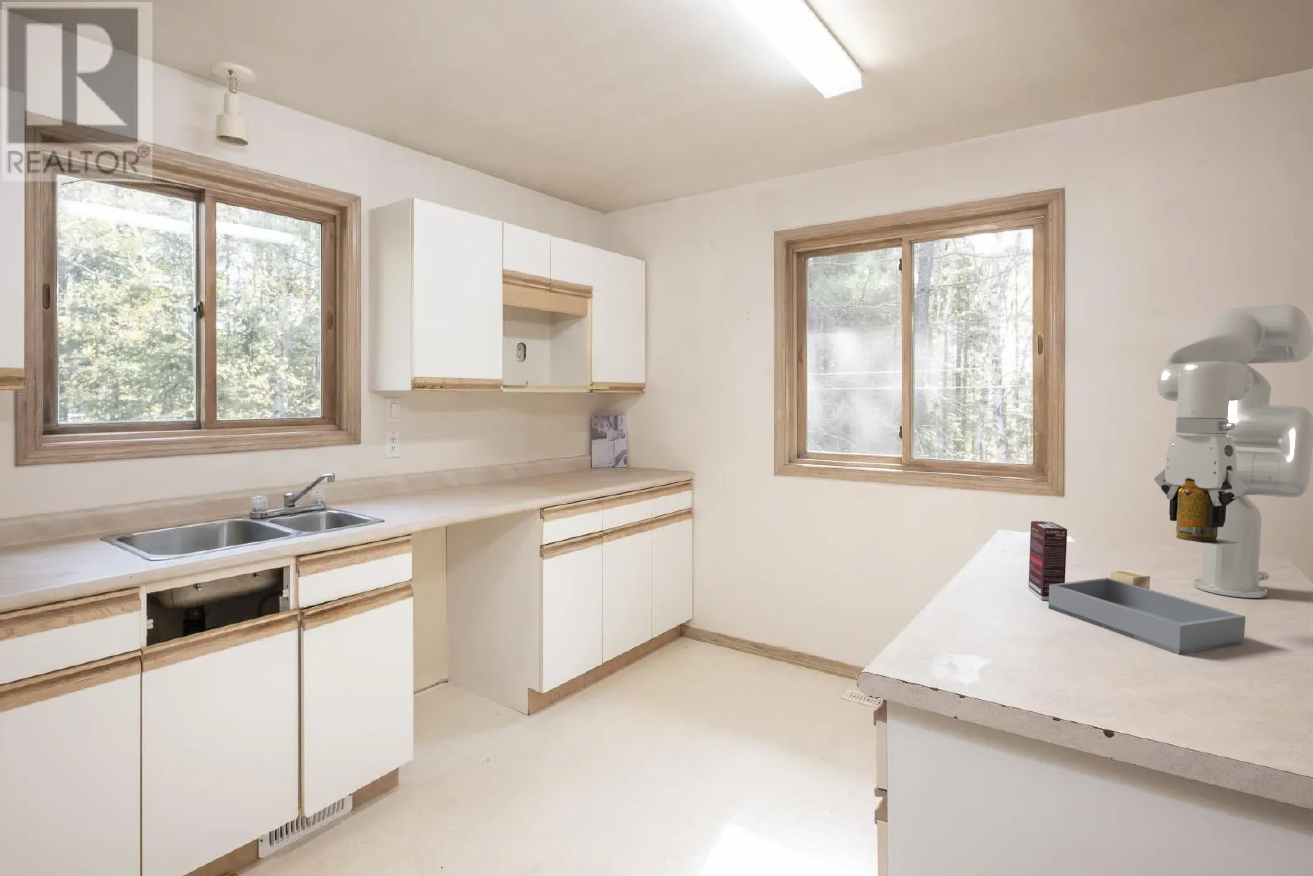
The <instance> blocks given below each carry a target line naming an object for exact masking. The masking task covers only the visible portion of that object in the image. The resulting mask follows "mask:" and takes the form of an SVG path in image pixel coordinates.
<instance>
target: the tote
mask: <svg viewBox="0 0 1313 876" xmlns="http://www.w3.org/2000/svg"><path fill="white" fill-rule="evenodd" d="M1048 609H1050V610H1052V611H1055V612H1058V613H1061V614H1064V615H1067V616H1070V617H1073V618H1075V619H1077V618H1078V620H1081V621H1082V622H1083V621H1084V622H1086V623H1089V624H1091V625H1094V626H1097V627H1100V628H1103V627H1104V628H1103V629H1106V628H1107V629H1106V630H1108V629H1109V631H1111V632H1114V633H1117V632H1118V633H1117V634H1120V635H1123V636H1125V637H1128V636H1129V638H1131V639H1134V640H1137V641H1140V642H1142V641H1143V643H1145V644H1147V645H1151V646H1152V647H1153V646H1154V647H1156V646H1157V647H1156V648H1159V649H1162V650H1165V651H1167V650H1169V651H1168V652H1170V653H1173V654H1176V655H1179V656H1180V655H1184V654H1185V655H1186V654H1191V653H1190V652H1192V653H1196V652H1195V651H1198V652H1202V651H1201V650H1204V651H1209V650H1215V649H1221V648H1227V646H1228V647H1233V646H1239V645H1244V644H1245V628H1246V627H1245V626H1246V616H1245V615H1242V614H1238V613H1234V612H1231V611H1228V610H1225V609H1224V610H1223V609H1220V608H1216V607H1214V606H1210V605H1206V604H1203V603H1199V602H1196V601H1192V600H1188V599H1184V598H1181V597H1178V596H1174V595H1170V594H1167V593H1163V592H1160V591H1156V590H1153V589H1150V590H1149V589H1146V588H1142V587H1138V586H1135V585H1131V584H1128V583H1124V582H1120V581H1117V580H1113V579H1111V577H1110V578H1109V577H1104V578H1103V577H1101V578H1095V579H1094V578H1093V579H1086V580H1076V581H1068V582H1065V583H1059V584H1050V585H1049V601H1048Z"/></svg>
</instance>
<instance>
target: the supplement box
mask: <svg viewBox="0 0 1313 876" xmlns="http://www.w3.org/2000/svg"><path fill="white" fill-rule="evenodd" d="M1029 535H1030V536H1029V537H1030V539H1029V540H1030V542H1029V563H1028V564H1029V566H1028V567H1029V568H1028V590H1029V591H1030V592H1031V593H1032V594H1034V595H1035V596H1036V597H1037V598H1039V599H1040V600H1042V601H1048V602H1049V585H1050V584H1059V583H1066V568H1067V567H1066V566H1067V544H1068V543H1067V542H1068V529H1067V528H1066V527H1064V526H1061V525H1059V524H1058V523H1055V522H1053V521H1043V520H1042V521H1041V520H1040V521H1038V520H1033V521H1032V520H1031V521H1030V534H1029Z"/></svg>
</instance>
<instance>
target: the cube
mask: <svg viewBox="0 0 1313 876" xmlns="http://www.w3.org/2000/svg"><path fill="white" fill-rule="evenodd" d="M1110 579H1113V580H1117V581H1120V582H1124V583H1128V584H1131V585H1135V586H1138V587H1142V588H1146V589H1149V590H1151V589H1150V588H1151V587H1150V585H1151V576H1150V575H1147V574H1145V573H1141V572H1136V571H1131V570H1128V569H1126V570H1119V571H1117V570H1116V571H1111V572H1110Z"/></svg>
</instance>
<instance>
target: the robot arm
mask: <svg viewBox="0 0 1313 876" xmlns="http://www.w3.org/2000/svg"><path fill="white" fill-rule="evenodd" d="M1312 352H1313V331H1312V327H1311V326H1310V323H1309V319H1308V317H1307V316H1306V314H1305V312H1304V311H1303V310H1302V309H1301V308H1300V307H1299V306H1296V305H1293V304H1274V305H1260V306H1259V305H1258V306H1247V307H1239V308H1238V307H1237V308H1233V309H1229V310H1227V311H1224V312H1222V313H1221V314H1220V315H1219V316H1218V317H1217V318H1216V320H1215V321H1214V323H1213V325H1212V327H1211V329H1210V331H1209V333H1208V335H1207V337H1206V338H1202V339H1199V340H1197V341H1195V342H1192V343H1190V344H1186V345H1184V346H1182V347H1180V348H1177V349H1176V350H1174V351H1173V352H1171V353H1170V354H1169V356H1168V357H1167V358H1166V360H1165V361H1164V363H1163V364H1162V367H1161V368H1160V370H1159V372H1158V373H1159V374H1158V376H1157V381H1156V385H1157V386H1156V388H1157V390H1158V393H1159V395H1160V396H1161V397H1162V399H1165V400H1167V401H1171V402H1177V403H1176V418H1175V434H1172V436H1171V438H1170V441H1169V445H1168V449H1167V454H1166V460H1165V468H1164V469H1163V470H1161V472H1159V474H1157V475H1156V476H1155V477H1154V478H1153V480H1154V482H1155V483H1156V484H1157V485H1158V487H1160V489H1161V491H1162V492H1163V493H1164V495H1166V499H1167V500H1168V501H1169V508H1168V509H1169V510H1168V511H1169V513H1168V514H1169V520H1170V522H1177V507H1178V491H1179V490H1180V489H1181V488H1182V486H1183V484H1184V483H1185V479H1188V478H1190V479H1194V480H1195V484H1196V485H1197V486H1198V487H1199V488H1201V489H1204V490H1208V492H1209V495H1210V497H1211V500H1212V503H1213V505H1210V506H1209V516H1208V526H1209V527H1213V528H1215V527H1218V530H1217V531H1218V533H1217V535H1218V536H1217V538H1216V539H1222V540H1228V541H1234V542H1239V543H1235V544H1230V545H1229V544H1226V545H1214V544H1210V543H1203V560H1202V561H1203V562H1202V577H1198V578H1197V577H1196V578H1195V579H1193V586H1194V587H1195V588H1197V589H1199V590H1201V591H1205V592H1207V593H1208V592H1209V593H1212V594H1217V595H1222V596H1228V597H1233V598H1244V599H1245V598H1246V599H1261V598H1264V597H1266V596H1267V595H1268V590H1267V589H1266V588H1265V587H1263V586H1261V585H1260V583H1259V582H1260V581H1261V582H1262V581H1267V580H1268V579H1269V577H1270V575H1269V573H1268V572H1267V571H1264V570H1263V571H1260V569H1259V568H1260V556H1261V555H1260V554H1261V552H1260V551H1261V535H1262V514H1261V511H1260V509H1259V508H1258V506H1256V504H1254V502H1253V501H1251V499H1250V498H1249V497H1248V496H1264V497H1276V498H1277V497H1278V498H1291V499H1292V498H1298V497H1301V496H1303V495H1305V493H1306V492H1307V490H1308V488H1309V485H1310V481H1311V469H1312V468H1311V467H1312V460H1313V459H1312V458H1313V414H1312V413H1311V412H1310V410H1309V409H1307V408H1305V407H1303V406H1301V405H1300V406H1299V405H1285V404H1284V405H1281V404H1279V405H1277V404H1276V405H1275V404H1274V405H1273V404H1270V403H1271V402H1270V401H1271V395H1272V394H1271V393H1272V385H1271V384H1270V383H1271V382H1269V381H1268V380H1267V379H1266V377H1265V376H1263V374H1261V373H1260V372H1259V371H1258V370H1256V369H1255V368H1253V367H1252V366H1251V364H1283V363H1284V364H1285V363H1298V362H1302V361H1304V360H1306V359H1307V358H1308V357H1309V356H1310V355H1311V353H1312ZM1249 364H1250V365H1249ZM1236 447H1238V448H1254V449H1255V448H1256V449H1257V448H1258V449H1274V450H1275V449H1276V450H1280V451H1282V452H1271V451H1270V452H1269V451H1258V450H1257V451H1254V450H1236Z"/></svg>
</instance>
